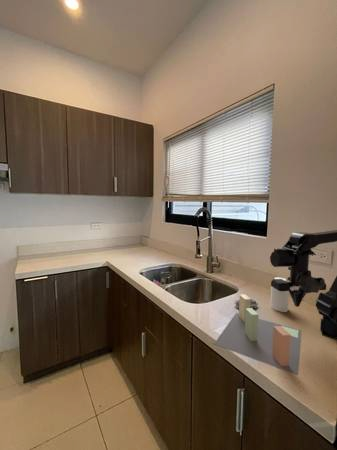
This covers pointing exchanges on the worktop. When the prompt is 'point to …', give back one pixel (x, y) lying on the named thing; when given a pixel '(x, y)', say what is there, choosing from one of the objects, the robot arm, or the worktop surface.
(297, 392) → the worktop surface
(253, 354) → the mat
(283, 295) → the pill bottle
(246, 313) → the sage tile
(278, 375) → the worktop surface
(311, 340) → the worktop surface
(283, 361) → the terracotta tile
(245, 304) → the sand tile
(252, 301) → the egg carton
